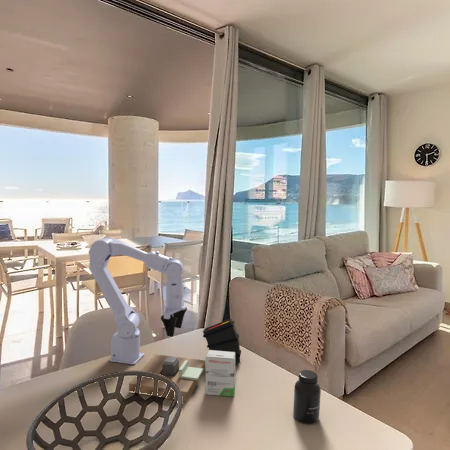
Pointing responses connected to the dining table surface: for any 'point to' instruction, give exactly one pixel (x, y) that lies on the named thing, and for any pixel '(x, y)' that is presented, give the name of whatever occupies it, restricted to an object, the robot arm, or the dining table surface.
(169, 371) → the plug
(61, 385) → the dining table surface
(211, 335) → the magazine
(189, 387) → the socket board
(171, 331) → the robot arm
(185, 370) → the pale green notched block
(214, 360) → the ink box
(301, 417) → the supplement bottle
